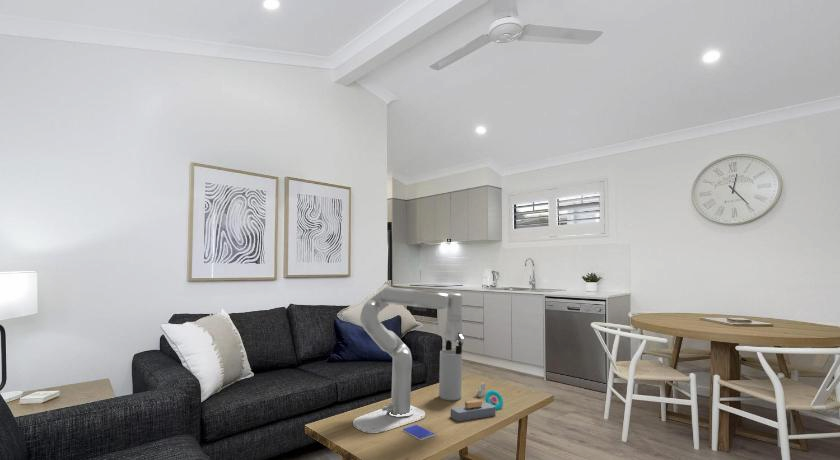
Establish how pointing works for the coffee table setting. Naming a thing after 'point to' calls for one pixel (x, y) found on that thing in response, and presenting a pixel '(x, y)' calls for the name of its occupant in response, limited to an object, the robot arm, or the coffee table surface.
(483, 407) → the grey slotted block
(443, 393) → the cylinder vase
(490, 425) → the coffee table surface
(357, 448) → the coffee table surface
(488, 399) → the ornament
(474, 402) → the clip
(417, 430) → the hard drive
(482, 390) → the architectural model
